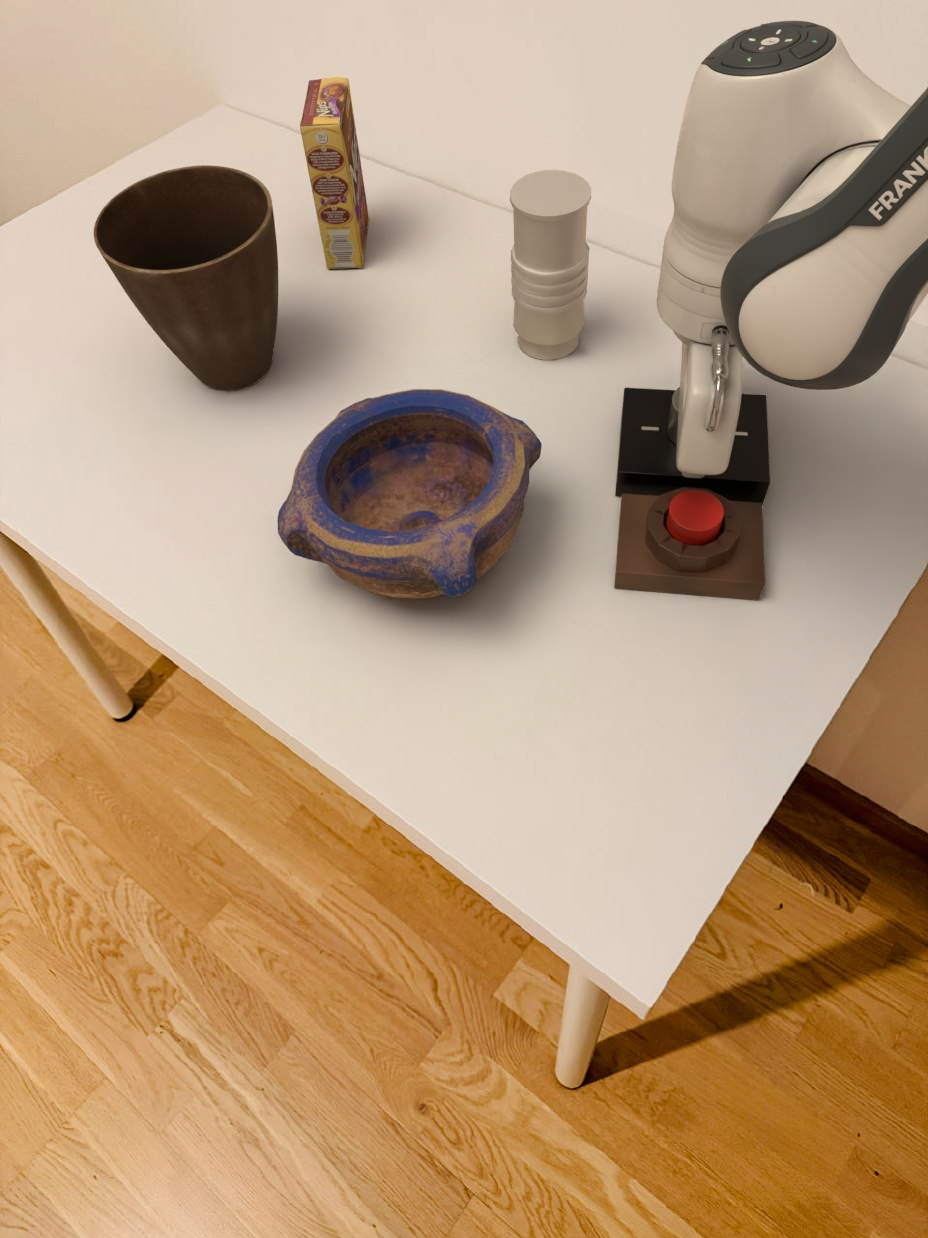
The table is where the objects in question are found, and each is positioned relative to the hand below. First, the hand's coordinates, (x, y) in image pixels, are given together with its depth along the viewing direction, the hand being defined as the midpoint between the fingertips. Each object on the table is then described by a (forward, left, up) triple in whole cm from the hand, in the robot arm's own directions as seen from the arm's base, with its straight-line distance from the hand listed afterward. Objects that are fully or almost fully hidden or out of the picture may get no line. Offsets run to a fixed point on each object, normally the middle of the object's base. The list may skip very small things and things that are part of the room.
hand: (694, 429), depth 75 cm
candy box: (+36, -29, -4) cm, 46 cm away
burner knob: (0, 0, 0) cm, 0 cm away
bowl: (+21, +11, -4) cm, 25 cm away
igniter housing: (0, +10, -3) cm, 11 cm away
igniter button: (0, +10, 0) cm, 11 cm away
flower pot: (+43, -9, -4) cm, 44 cm away
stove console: (0, 0, -3) cm, 3 cm away
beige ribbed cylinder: (+13, -15, -4) cm, 20 cm away
